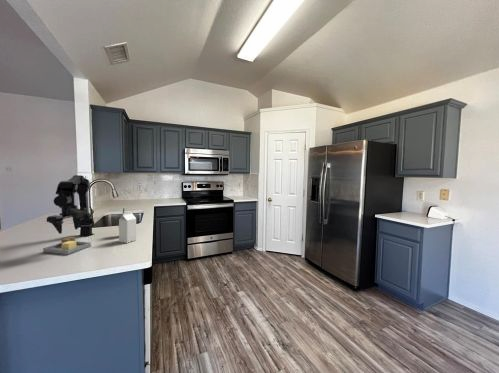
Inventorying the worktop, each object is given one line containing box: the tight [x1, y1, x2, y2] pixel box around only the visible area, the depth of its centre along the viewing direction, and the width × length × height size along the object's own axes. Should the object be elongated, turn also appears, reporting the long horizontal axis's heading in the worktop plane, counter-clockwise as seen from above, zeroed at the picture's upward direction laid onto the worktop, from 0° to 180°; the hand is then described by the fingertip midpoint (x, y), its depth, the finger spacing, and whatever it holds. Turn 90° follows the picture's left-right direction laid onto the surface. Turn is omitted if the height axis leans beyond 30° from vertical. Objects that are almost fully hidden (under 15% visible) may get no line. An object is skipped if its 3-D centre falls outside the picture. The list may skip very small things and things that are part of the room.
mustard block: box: [62, 240, 76, 250], centre depth 122 cm, size 4×4×4 cm
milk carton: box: [118, 211, 137, 244], centre depth 142 cm, size 7×7×19 cm
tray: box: [42, 240, 92, 256], centre depth 125 cm, size 14×16×2 cm
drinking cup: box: [117, 207, 125, 225], centre depth 153 cm, size 8×8×20 cm
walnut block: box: [60, 236, 76, 245], centre depth 129 cm, size 4×4×4 cm
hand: (68, 231), depth 122 cm, fingers open, 9 cm apart
